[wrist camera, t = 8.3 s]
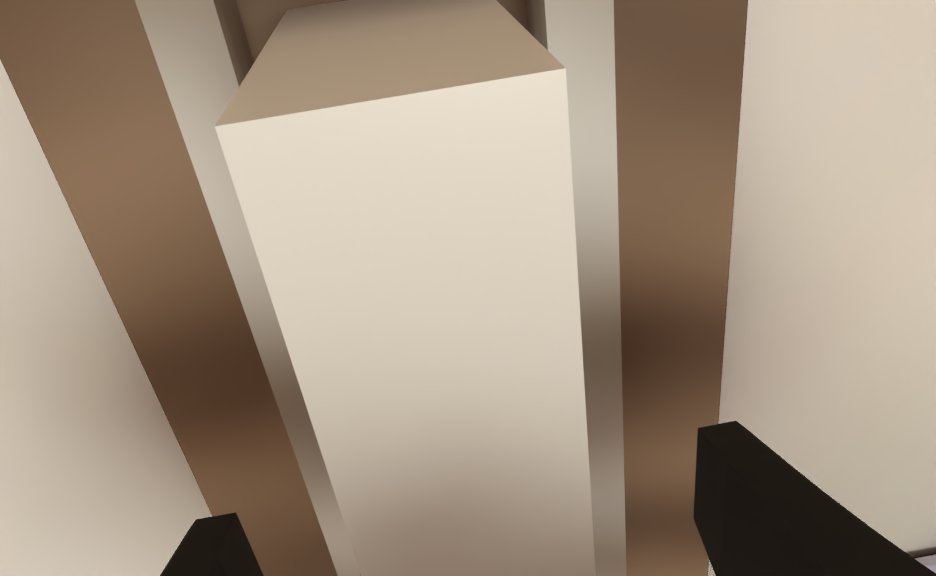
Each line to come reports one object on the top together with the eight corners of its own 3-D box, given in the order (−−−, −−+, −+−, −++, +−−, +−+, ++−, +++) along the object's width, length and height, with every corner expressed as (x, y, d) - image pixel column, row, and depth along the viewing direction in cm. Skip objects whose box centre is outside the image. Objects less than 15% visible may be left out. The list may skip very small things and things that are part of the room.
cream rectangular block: (542, 556, 18) (638, 931, 12) (428, 578, 18) (462, 968, 12) (474, -21, 11) (623, 124, 5) (286, 9, 11) (167, 202, 5)
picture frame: (692, 614, 22) (724, 687, 20) (307, 689, 21) (301, 771, 19) (754, -476, 9) (854, -569, 7) (-156, -352, 9) (-303, -414, 7)
